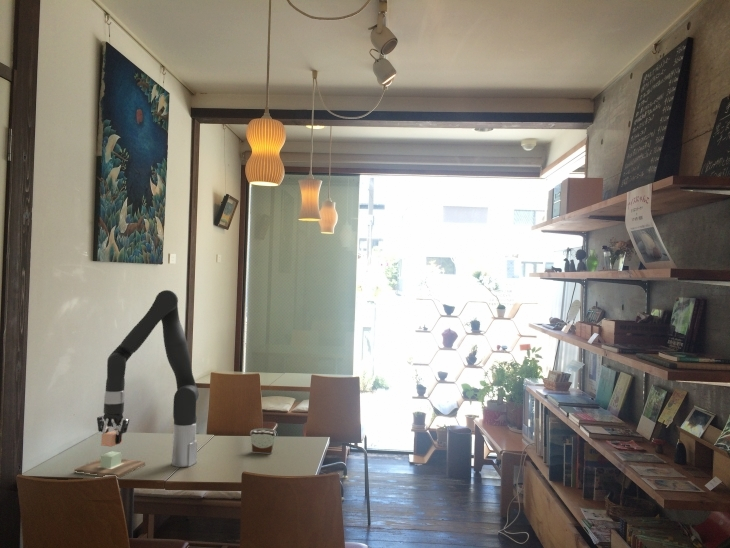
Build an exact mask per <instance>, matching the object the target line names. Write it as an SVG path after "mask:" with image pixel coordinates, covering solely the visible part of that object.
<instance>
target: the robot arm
mask: <svg viewBox="0 0 730 548" xmlns="http://www.w3.org/2000/svg"><path fill="white" fill-rule="evenodd" d="M178 303H179V298H178V295H177V294H176V293H175V292H174V291H173V290H167V289H165V290H161V291H160V292H158V294H157V295H156V296H155V299H154V301H153V303H152V305H151V306H150V308H149V309H148V310H147V312H146V314H145V315H144V316H143V317H142V318H141V319H140V320H139V321H138V322H137V324H136V325H135V326H134V327H133V328H132V329H131V330H130V331H129V333H128V334H126V336H125V337H124V339H122V341H121V343H120V344H119V345H118V346H117V347H115V349H114V350H113V351H112V352H111V354H110V355H108V358H107V367H106V373H107V374H106V376H107V377H106V380H105V393H104V398H103V399H104V400H103V414H104V415H101V416H98V417H96V421H97V422H96V423H97V430H98V432H99V433H102V434H104V433H107V432H110V428H111V427H112V428H113V431H116V441H115V444H118V445H120V444H119V443H120V442H121V438H122V439H123V434H125V433H127V432H128V428H129V427H128V426H129V424H130V418H124V416H123V415H124V411H125V410H124V409H125V385H126V384H125V383H126V382H125V375H126V368H127V362H128V360H129V359H130V358H131V356H132V355H133V354H134V353H136V352H137V351H138V350H139V349H140V347H141V346H142V345H143V344H144V343H145V341H146V340H147V339H148V337H149V336H150V334H151V333H152V332H153V330H154V329H155V328H156V327H157V325H158V324H159V323H160V322H161V323H162V336H163V344H164V345H163V346H164V351H165V354H166V359H167V361H168V363H169V366H170V368H171V369H172V372H173V373H174V377H175V383H176V392H174V395H173V411H172V414H173V415H172V417H173V433H172V434H173V435H172V455H171V457H172V459H171V465H172V466H173V467H178V468H179V467H180V468H183V467H188V468H189V467H191V466H192V465H196V463H197V459H198V439H196V436H197V421H198V420H197V419H198V418H197V401H198V399H199V389H198V386H197V384H196V381H195V378H194V375H193V371H192V370H193V369H192V361H191V356H190V351H189V345H188V341H187V338H186V334H185V332H184V328H183V327H182V324H181V319H180V315H179V307H178Z"/></svg>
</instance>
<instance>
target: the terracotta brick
mask: <svg viewBox="0 0 730 548" xmlns="http://www.w3.org/2000/svg"><path fill="white" fill-rule="evenodd" d="M115 441H116V431H115V430H111V431H108V432H107V433H104V434H103V433H102V434H101V444H100V445H101V447H102V446H103V447H111V448H112V447H115V446H118V445H120V444H121V445H122V444H123V437H122V438H121V442H120V443H119V444H115Z"/></svg>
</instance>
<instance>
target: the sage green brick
mask: <svg viewBox="0 0 730 548" xmlns="http://www.w3.org/2000/svg"><path fill="white" fill-rule="evenodd" d="M100 458H101V463H100V467H107V468H112V467H114V466H117V465H119V464H121V459H122V452H118V451H111V450H110V451H109V452H106V453H103V454H101V455H100Z"/></svg>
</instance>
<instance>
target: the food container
mask: <svg viewBox="0 0 730 548" xmlns="http://www.w3.org/2000/svg"><path fill="white" fill-rule="evenodd" d="M249 436H250V438H251V439H250V441H251V454H252V453H253V454H255V453H256V454H268V455H269V454H270V455H272V454H273V450H274V443H275V442H274V440H275V437H277V434H276V431H275V429H272V428H265V427H263V428H254V429H252V430H250V432H249Z"/></svg>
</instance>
